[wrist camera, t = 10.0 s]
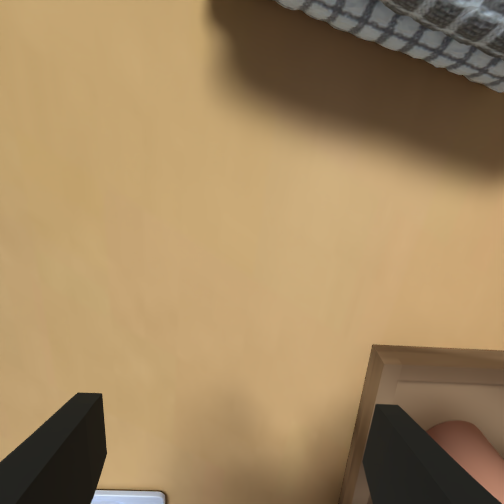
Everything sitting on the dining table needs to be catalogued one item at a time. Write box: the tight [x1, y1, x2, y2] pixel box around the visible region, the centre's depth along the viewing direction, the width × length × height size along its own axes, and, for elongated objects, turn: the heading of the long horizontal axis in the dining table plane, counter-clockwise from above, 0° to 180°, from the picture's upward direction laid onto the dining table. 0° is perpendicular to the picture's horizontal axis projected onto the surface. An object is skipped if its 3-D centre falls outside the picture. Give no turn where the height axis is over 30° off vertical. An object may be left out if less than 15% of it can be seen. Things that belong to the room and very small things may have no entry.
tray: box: [338, 345, 504, 504], centre depth 23 cm, size 14×12×2 cm
